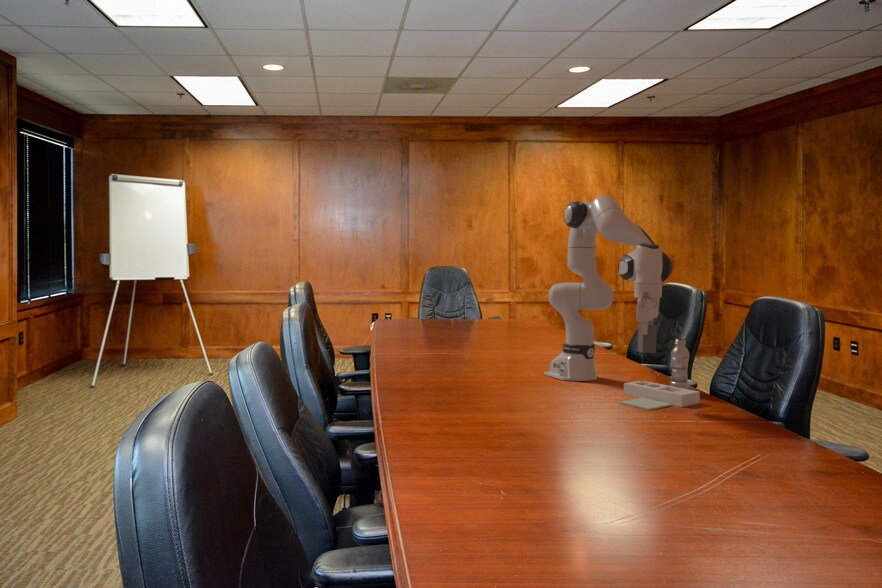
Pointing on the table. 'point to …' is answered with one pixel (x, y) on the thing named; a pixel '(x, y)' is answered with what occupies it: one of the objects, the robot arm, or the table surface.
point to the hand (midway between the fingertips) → (647, 333)
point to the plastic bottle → (679, 364)
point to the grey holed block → (662, 393)
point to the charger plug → (647, 339)
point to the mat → (645, 403)
